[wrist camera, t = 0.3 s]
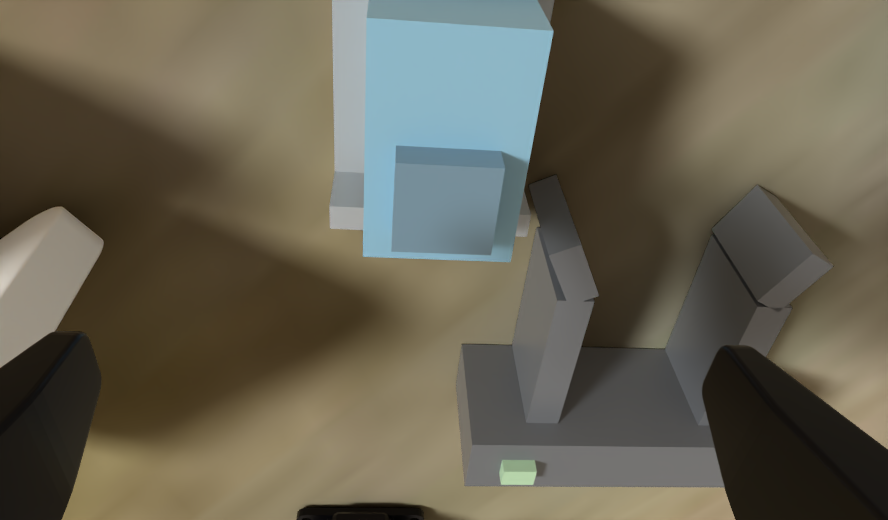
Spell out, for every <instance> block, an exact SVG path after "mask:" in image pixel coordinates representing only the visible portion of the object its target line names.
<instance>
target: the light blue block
mask: <svg viewBox="0 0 888 520" xmlns="http://www.w3.org/2000/svg"><path fill="white" fill-rule="evenodd" d="M553 32H554V31H553V29H552V27H551V25H550V23H549V21H548V19H547V17H546V16H545V14H544V12H543V10H542V8H541V6H540V4H539V2H538V0H369V2H368V10H367V18H366V84H365V151H364V217H363V257H386V258H413V259H440V260H467V261H494V262H511V256H512V251H513V246H514V240H515V235H516V230H517V224H518V219H519V214H520V208H521V203H522V198H523V192H524V187H525V182H526V176H527V171H528V165H529V160H530V155H531V149H532V144H533V139H534V133H535V128H536V123H537V117H538V112H539V107H540V101H541V96H542V91H543V85H544V80H545V75H546V69H547V64H548V59H549V53H550V48H551V42H552V37H553Z"/></svg>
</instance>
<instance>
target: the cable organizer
mask: <svg viewBox="0 0 888 520" xmlns="http://www.w3.org/2000/svg"><path fill="white" fill-rule="evenodd" d="M103 245H104V242H103V240H102V239H101V238H100V237H99V236H98V235H97V234H95V233H94V232H93V231H92V230H90V229H89V228H88V227H87V226H85V225H84V224H83V223H82V222H81V221H79V220H78V219H77V218H76V217H74V216H73V215H72V214H71V213H70V212H68V211H67V210H66V209H65V208H63V207H53V208H50V209H48V210H45V211H43V212H41V213H39V214H38V215H36V216H34V217H32V218H31V219H29V220H28V221H26V222H24V223H23V224H22V225H20V226H19V227H17V228H16V229H14V230H13V231H12V232H10V233H9V234H7V235H6V236H5V237H3V238H2V239H1V240H0V368H1V367H2V366H3V365H5V364H6V363H8V362H9V361H10V360H12V359H13V358H15V357H16V356H18V355H19V354H20V353H22V352H23V351H25V350H26V349H27V348H29V347H30V346H32V345H33V344H34V343H36V342H37V341H39V340H40V339H42V338H43V337H44V336H46V335H47V334H49V333H51V332H55V331H56V329H57V327H58V325H59V324H60V322H61V320H62V319H63V317H64V315H65V313H66V312H67V310H68V308H69V307H70V305H71V303H72V302H73V300H74V298H75V296H76V295H77V293H78V291H79V290H80V288H81V286H82V285H83V283H84V281H85V279H86V278H87V276H88V274H89V273H90V271H91V269H92V267H93V266H94V264H95V262H96V261H97V259H98V257H99V255H100V253H101V251H102V249H103Z"/></svg>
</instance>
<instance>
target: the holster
mask: <svg viewBox="0 0 888 520" xmlns="http://www.w3.org/2000/svg"><path fill="white" fill-rule="evenodd" d="M368 2H369V0H332V25H333V88H334V151H335V174H334V180H333V187H332V193H331V200H330V206H329V207H330V229H352V230H363V217H364V151H365V84H366V18H367V10H368ZM538 2H539V4H540V6H541V8H542V10H543V12H544V14H545V16H546V17H547V19H548V21H549V23H550V22H551V16H552V11H553V6H554V0H538ZM530 218H531V213H530V209H529V206H528V202H527V199H526V195H525V191H524V192H523V198H522V203H521V208H520V214H519V219H518V224H517V230H516V235H515V236H524V237H527V233H528V228H529V223H530Z"/></svg>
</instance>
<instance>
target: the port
mask: <svg viewBox="0 0 888 520" xmlns="http://www.w3.org/2000/svg"><path fill="white" fill-rule="evenodd" d="M529 189H530V192H531V196H532V199H533V202H534V206H535V209H536V213H537V216H538V220H539V223H540V227H537V228H536V233H535V238H534V242H533V247H532V252H531V257H530V262H529V266H528V271H527V276H526V281H525V285H524V290H523V295H522V300H521V305H520V309H519V314H518V319H517V324H516V329H515V333H514V338H513V343H512V345H478V344H462V347H461V354H460V361H459V368H458V374H457V381H456V391H457V402H458V414H459V426H460V437H461V449H462V461H463V472H464V484H465V486H553V487H724V483H723V480H722V476H721V472H720V468H719V464H718V460H717V456H716V452H715V448H714V443H713V439H712V435H711V431H710V427H709V423H708V419H707V415H706V411H705V407H704V403H703V398H702V385H703V381H704V379H705V376H706V374H707V372H708V370H709V368H710V366H711V363H712V361H713V359H714V357H715V355H716V352H717V351H718V349H719V348H720V347H722V346H723V345H747V346H751V347H753V348H754V349H756V350H757V351H758V352H760V353H761V354H762V355H764V356H765V357H766V356H767V354H768V352H769V350H770V349H771V347H772V345H773V343H774V341H775V339H776V338H777V336H778V334H779V332H780V330H781V328H782V327H783V325H784V323H785V321H786V319H787V317H788V316H789V314H790V312H791V310H792V307H791V305H790V304H789V303H790V302H791V301H793V300H794V299H795V298H796V297H798V296H799V295H800V294H801V293H802V292H804V291H805V290H806V289H807V288H808V287H810V286H811V285H812V284H813V283H814V282H816V281H817V280H818V279H819V278H820V277H822V276H823V275H824V274H825V273H826V272H828V271H829V270H830V269H831V268H833V267H834V266H833V265H832V264H831V263H830V261H829V260H828V259H827V258H826V256H825V255H824V254H823V253H822V252H821V250H820V249H819V248H818V247H817V246H816V244H815V243H814V242H813V241H812V240H811V238H810V237H809V236H808V235H807V233H806V232H805V231H804V230H803V229H802V227H801V226H800V225H799V224H798V223H797V221H796V220H795V219H794V218H793V217H792V215H791V214H790V213H789V212H788V210H787V209H786V208H785V207H784V206H783V204H782V203H781V202H780V201H779V200H778V198H777V197H776V196H774V195H773V194H771V193H769V192H768V191H766V190H765V189H763V188H762V187H760V186H758V185H756V186H755V187H754V188H753V189H752V190H751V191H750V192H749V193H748V194H747V195H746V196H745V197H744V198H743V199H742V200H741V201H740V202H739V203H738V204H737V205H736V206H735V207H734V208H733V209H732V210H731V211H730V212H729V213H728V214H726V215H725V216H724V217H723V218H722V219H721V220H720V221H719V222H718V223H717V224H716V225H715V226H714V227H713V228H712V231H713V232H714V234H715V235H711V238H710V240H709V242H708V245H707V247H706V250H705V252H704V255H703V257H702V260H701V262H700V265H699V267H698V269H697V272H696V274H695V277H694V279H693V282H692V284H691V287H690V289H689V291H688V294H687V296H686V299H685V301H684V304H683V306H682V309H681V311H680V313H679V316H678V318H677V321H676V323H675V326H674V328H673V331H672V333H671V336H670V338H669V340H668V343H667V345H666V348H665V349H637V348H597V347H581V345H582V342H583V339H584V335H585V332H586V329H587V325H588V322H589V319H590V315H591V312H592V308H593V305H594V299H593V298H595V297H598V296H599V294H598V291H597V288H596V285H595V282H594V279H593V277H592V274H591V271H590V268H589V265H588V262H587V259H586V256H585V254H584V251H583V248H582V245H581V242H580V239H579V236H578V234H577V231H576V228H575V225H574V223H573V220H572V217H571V214H570V211H569V209H568V206H567V203H566V200H565V198H564V195H563V192H562V189H561V186H560V184H559V181H558V178H557V175H554V176H551V177H549V178H546V179H543V180H540V181H538V182H535V183H532V184H529Z"/></svg>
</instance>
